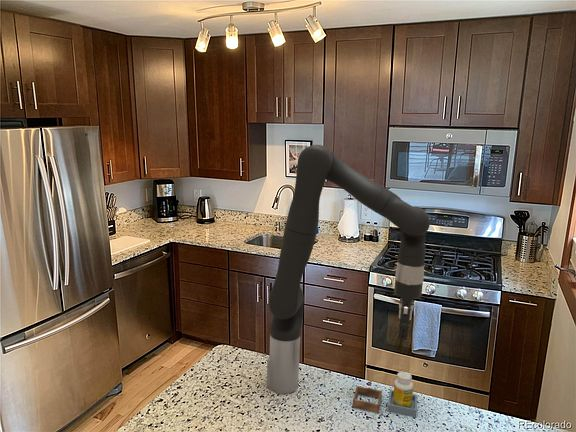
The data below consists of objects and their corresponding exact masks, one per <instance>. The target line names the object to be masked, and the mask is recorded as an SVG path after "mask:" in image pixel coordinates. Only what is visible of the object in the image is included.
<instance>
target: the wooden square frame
mask: <svg viewBox="0 0 576 432" xmlns="http://www.w3.org/2000/svg"><path fill="white" fill-rule="evenodd" d="M353 394H354V395H353V398H352V407H351V408H352V409H357V410H361V411H366V412H372V413H375V414H376V413H377V414H380V409H381V403H382V395H383V390H382V389H381V390H380V389H376V388H370V387H364V386H359V385H356V387H355V391H354V393H353ZM358 395H359V396H363V397H368V398H373V399H377V403H376V402H370V401H366V400H361V399H358Z"/></svg>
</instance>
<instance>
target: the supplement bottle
mask: <svg viewBox="0 0 576 432" xmlns="http://www.w3.org/2000/svg"><path fill="white" fill-rule="evenodd" d="M396 376H397V377H396V379H395V380H394V382H393V390H394V394H393V405H398V406H403V407H408V408H411V404H412V395H413V394H414V383H413V382H412V379H413V378H412V375H411V374H410V373H409V372H406V371H399V372H398V373H397V374H396Z"/></svg>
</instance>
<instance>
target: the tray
mask: <svg viewBox="0 0 576 432" xmlns="http://www.w3.org/2000/svg"><path fill="white" fill-rule="evenodd" d="M393 394H394V389H389V393H388V402H387V409H386V410H387V411H386V412H388V413H392V414H397V415H402V416H407V417H411V418H417V412H418V411H417V410H418V395H417V394H414V393H413V395H412V404H411V408H408V407H403V406H398V405H393Z"/></svg>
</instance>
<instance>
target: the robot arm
mask: <svg viewBox="0 0 576 432" xmlns="http://www.w3.org/2000/svg"><path fill="white" fill-rule="evenodd" d="M295 176H296V177H295V184H294V185H295V186H294V192H293V197H292V200H291V203H290V207H289V210H288V214H287V218H286V222H285V226H284V230H283V236H282V241H281V247H280V252H279V259H278V266H277V270H276V271H277V272H276V275H275V278H274V282H273V285H272V287H271V290H270V294H269V296H268V309H269V312H270V313H271V314H272V321H271V324H270V328H269V329H270V330H269V331H270V332H269V333H270V334H269V356H268V358H267V360H266V388H267V389H270V390H271V391H272V392H274V393H277V394H282V395H283V394H284V395H286V394H291V393H294V392H295V391H297V389H298V388H299V379H300V378H299V376H300V374H299V373H300V353H301V352H300V351H301V350H300V349H301V331H302V327H303V326H302V325H303V316H304V302H305V301H304V299H305V297H304V292H303V290H302V287H301V282H302V277H303V275H304V272H305V270H306V267H307V265H308V263H309V260H310V257H311V256H312V252H313V249H314V245H315V241H316V239H317V233H318V228H319V219H320V217H319V216H320V200H321V196H322V192H323V191H322V190H323V188H324V185H325V183H326V181H327V182H330V183H333V184H334V185H336V186H338V187H339V188H341V189H342V190H344V191H345V192H347V193H348V194H349V195H351V196H352V197H353V198H354V199H355V200H357V201H358V202H359V203H361V204H362V205H363V206H364V207H366V208H368V209H370V210H371V211H373V212H374V213H377V214H378V215H380V216H381V217H383V218H385V219H387V220H388V221H389V222H390V223H392V224H393V225H394V226H396V227H397V228H398V229H400V244H399V250H398V256H397V257H398V258H397V265H396V268H395V276H394V277H395V278H394V288H393V293H394V295H396V296H397V297H400V298H399V303H398V308H399V311H398V318H399V323H398V327H399V331H398V339H399V340H402V341H407V339H408V332H409V328H410V321H411V320H412V317H413V316H412V315H413V310H414V305H415V300H417V299H419V298H421V297H422V295H423V288H424V287H423V286H424V277H425V258H426V244H425V243H426V235H427V232H428V230H429V228H430V227H431V225H430V223H431V221H430V217H429V215H428V214H427V212H426V211H425V209H423V208H422V207H419V206H413V205H411V204H409V203H408V202H405V201H404V200H402V199H401V197H400V196H398V194H396V193H394V192H393V191H391V190H389V189H388V188H386V187H385V186H383V185H381V184H379V183H377V182H376V181H374V180H372V179H370V178H369V177H367V176H365V175H363V174H362V173H360V172H358V171H357V170H355V169H353V168H352V167H351V166H349V165H348V164H347V163H345V162H343V160H341V159H340V158H339V157H338V156H337V155H336V154H334V153H333V152H332V151H331V150H330V149H329V148H328V147H327V146H324V145H322V144H313V145H309V146H306V147H305V148H304V149H303V150H302V151H301V152H300V153H299V155H298V158H297V165H296V174H295ZM414 299H415V300H414Z"/></svg>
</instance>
